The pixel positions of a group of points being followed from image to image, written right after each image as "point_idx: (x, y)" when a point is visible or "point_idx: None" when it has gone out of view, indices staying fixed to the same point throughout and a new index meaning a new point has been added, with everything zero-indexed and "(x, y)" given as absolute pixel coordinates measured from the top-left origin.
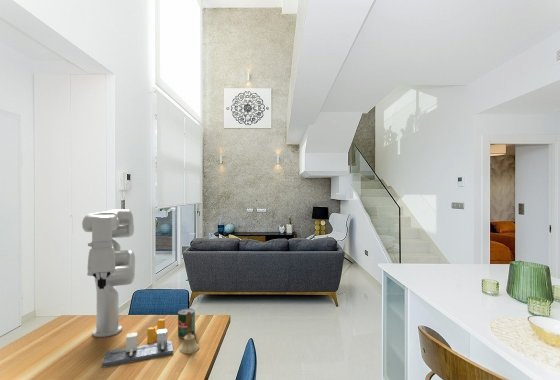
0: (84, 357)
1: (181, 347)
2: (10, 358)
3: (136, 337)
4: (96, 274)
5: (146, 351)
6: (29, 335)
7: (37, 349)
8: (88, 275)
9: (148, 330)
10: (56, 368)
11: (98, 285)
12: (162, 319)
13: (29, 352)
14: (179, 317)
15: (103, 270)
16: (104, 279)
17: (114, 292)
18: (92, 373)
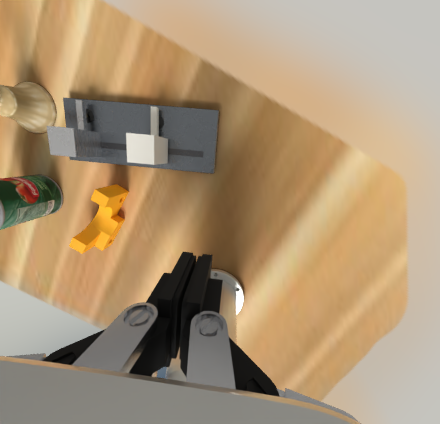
0: (256, 184)
1: (45, 109)
2: (396, 257)
3: (129, 133)
4: (227, 384)
5: (123, 124)
6: (363, 353)
7: (347, 275)
8: (339, 411)
9: (109, 196)
10: (310, 157)
11: (215, 282)
12: (75, 245)
13: (362, 268)
14: (8, 195)
15: (51, 413)
16: (151, 312)
17: (172, 379)
18: (238, 90)
